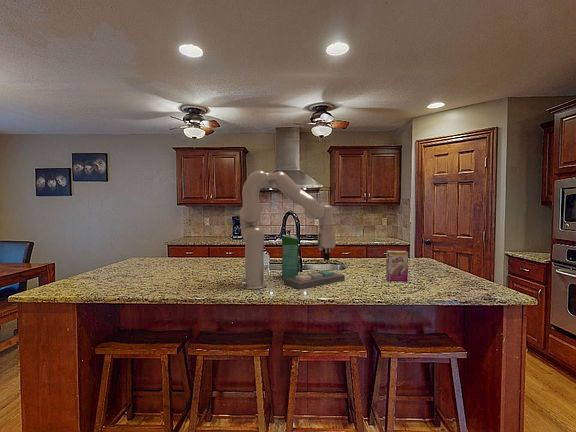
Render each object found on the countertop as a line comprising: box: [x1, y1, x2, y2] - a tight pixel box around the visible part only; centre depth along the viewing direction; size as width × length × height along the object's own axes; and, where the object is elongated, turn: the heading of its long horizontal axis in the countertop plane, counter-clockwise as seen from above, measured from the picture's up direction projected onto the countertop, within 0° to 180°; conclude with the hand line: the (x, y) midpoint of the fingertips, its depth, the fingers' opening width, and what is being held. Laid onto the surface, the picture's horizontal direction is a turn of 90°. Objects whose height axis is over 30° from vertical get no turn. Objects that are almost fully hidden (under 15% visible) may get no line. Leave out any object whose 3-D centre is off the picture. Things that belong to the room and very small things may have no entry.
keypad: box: [283, 270, 346, 291], centre depth 175 cm, size 32×14×3 cm, turn 126°
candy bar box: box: [385, 250, 409, 282], centre depth 179 cm, size 11×5×16 cm, turn 84°
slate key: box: [306, 272, 323, 279], centre depth 175 cm, size 6×6×2 cm
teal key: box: [317, 270, 333, 277], centre depth 179 cm, size 6×6×2 cm
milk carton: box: [281, 234, 299, 280], centre depth 186 cm, size 9×9×25 cm
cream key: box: [296, 274, 311, 281], centre depth 170 cm, size 6×6×2 cm
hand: (326, 259), depth 179 cm, fingers closed
